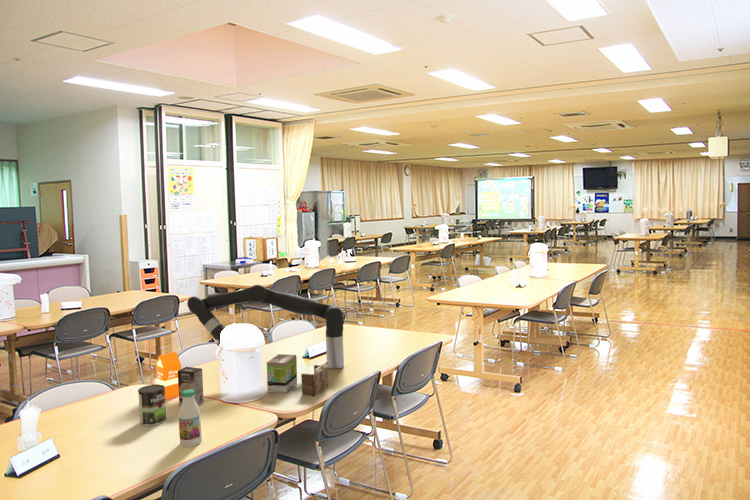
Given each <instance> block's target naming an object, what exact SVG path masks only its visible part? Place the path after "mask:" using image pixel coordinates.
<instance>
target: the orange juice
mask: <svg viewBox="0 0 750 500" xmlns="http://www.w3.org/2000/svg"><path fill="white" fill-rule="evenodd" d="M180 369H182V364H181V361H180V358H179V356H178V353H177V351H174V352H170V353H164V354H160V355H159V356H158V358H157V362H156V366H155V370H156V371H155V372H156V385H164V386H165V400H168V399H171V398H173V397H174V398H175V397H179V388H178V370H180Z"/></svg>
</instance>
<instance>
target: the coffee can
mask: <svg viewBox="0 0 750 500" xmlns="http://www.w3.org/2000/svg"><path fill="white" fill-rule="evenodd" d="M137 393H138V405H139V420H140V421H139V422H140V425H141V426H143V427H154V426H158V424H159V425H161V424H163V422H164V423H165V422H167V409H166V407H167V406H166V405H167V404H166V399H165V386H164V385H157V384H150V385H145V386H141V387H140V388H139V389H137Z"/></svg>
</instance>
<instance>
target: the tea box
mask: <svg viewBox="0 0 750 500" xmlns="http://www.w3.org/2000/svg"><path fill="white" fill-rule="evenodd" d="M297 362H298V361H297V354H285V353H283V354H280V353H279V354H276V355H275V356H274V357H272V358H271V359H270V360H268V361H266V382H267V384H266V387H267V390H266V391H267V393H279V394H281V393H282V394H286V393H288V391H290V390H291V389H292V388H293V387H294V386H296V385H297V384H298V369H297V368H298V367H297V366H298V365H297Z"/></svg>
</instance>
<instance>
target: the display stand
mask: <svg viewBox="0 0 750 500" xmlns="http://www.w3.org/2000/svg"><path fill="white" fill-rule="evenodd" d="M327 366H328V361H327V360H326V361H325V362H324V363H322V364H314V365H313V370H314V371H313V373H301V375H300V376H301V395H302V396H306V397H316V396H317V395H319V393H321V392H322V391H324V390H325V389H326V388H327V387H328V386H329V377H328V376H329V374H328V372H329V371H328V368H327Z"/></svg>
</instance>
